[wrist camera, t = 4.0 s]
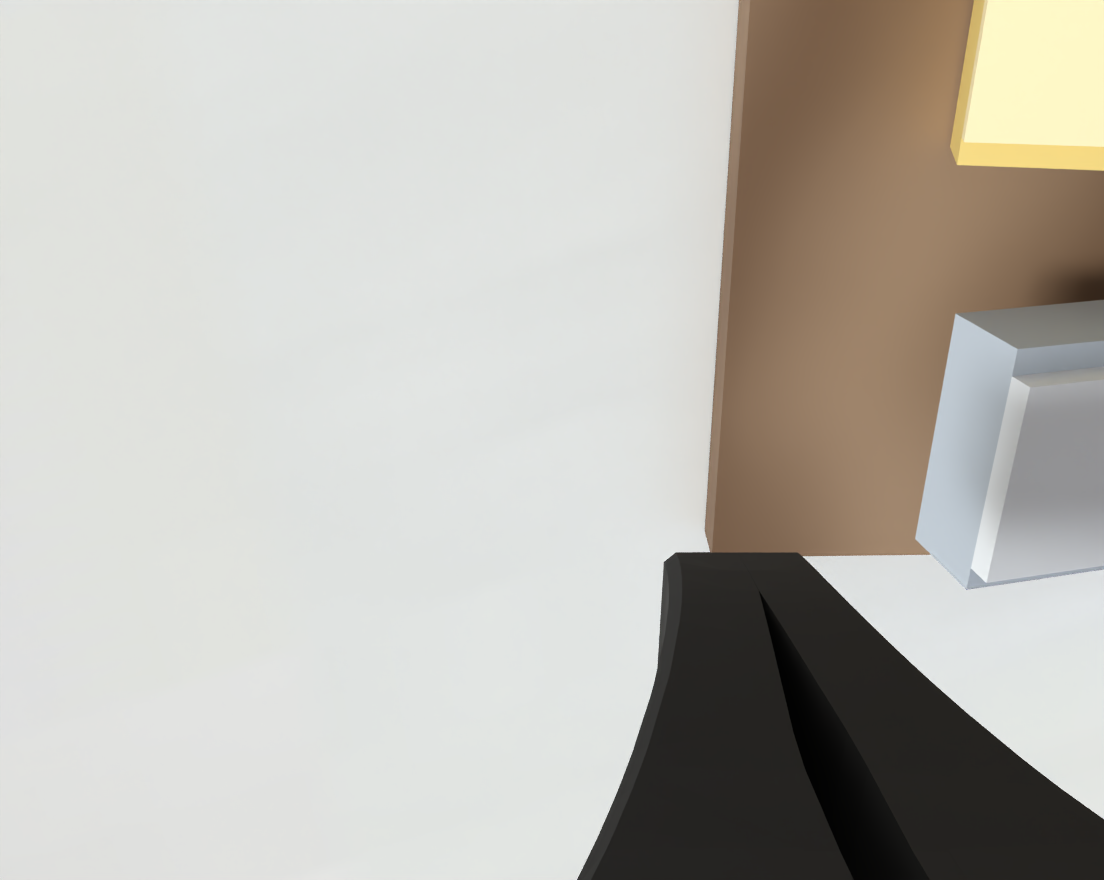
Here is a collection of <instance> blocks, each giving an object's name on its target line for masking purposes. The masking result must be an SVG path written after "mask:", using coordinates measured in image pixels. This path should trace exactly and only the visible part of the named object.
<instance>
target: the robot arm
mask: <svg viewBox="0 0 1104 880" xmlns="http://www.w3.org/2000/svg"><path fill="white" fill-rule="evenodd" d="M577 880H1104V819H1102V818H1101V817H1100V816H1098V815H1097V814H1095V813H1094V812H1093V811H1091V810H1090V809H1089V808H1087V807H1086V806H1084V805H1083V804H1082V803H1080V802H1079V801H1077V800H1076V799H1075V798H1073V797H1072V796H1070V795H1069V794H1068V793H1066V792H1065V791H1063V790H1062V789H1061V788H1059V787H1058V786H1057V785H1055V784H1054V783H1053V782H1051V781H1050V780H1049V779H1048V778H1046V777H1045V776H1044V775H1042V774H1041V773H1040V772H1038V771H1037V770H1036V769H1035V768H1033V767H1032V766H1031V765H1029V764H1028V763H1027V762H1026V761H1024V760H1023V759H1022V758H1021V757H1019V756H1018V755H1017V754H1016V753H1014V752H1013V751H1012V750H1011V749H1010V748H1008V747H1007V746H1006V745H1005V744H1004V743H1002V742H1001V741H1000V740H999V739H998V738H996V737H995V736H994V735H993V734H991V733H990V732H989V731H988V730H987V729H985V728H984V727H983V726H982V725H981V724H979V723H978V722H977V721H976V720H975V719H973V718H972V717H971V716H970V715H968V714H967V713H966V712H965V711H964V710H963V709H962V708H960V707H959V706H958V705H957V704H956V703H955V702H954V701H952V700H951V699H950V698H949V697H948V696H947V695H946V694H944V693H943V692H942V691H941V690H940V689H939V688H938V687H936V686H935V685H934V684H933V683H932V682H931V681H930V680H929V679H928V678H927V677H925V676H924V675H923V674H922V673H921V672H920V671H919V670H918V669H917V668H916V667H915V666H914V665H912V664H911V663H910V662H909V661H908V660H907V659H906V658H905V657H904V656H903V655H902V654H901V653H900V652H899V651H897V650H896V649H895V648H894V647H893V646H892V645H891V644H890V643H889V642H888V641H887V640H886V639H885V638H884V637H883V636H882V635H881V634H880V633H879V632H878V631H877V630H876V629H875V628H874V627H873V626H872V625H871V624H869V623H868V622H867V621H866V620H865V619H864V618H863V617H862V616H861V615H860V614H859V613H858V612H857V611H856V610H855V609H854V608H853V607H852V606H851V605H850V604H849V603H848V602H847V601H846V600H845V599H844V598H843V597H842V596H841V595H840V594H839V593H838V592H837V591H836V590H835V589H834V588H833V587H832V586H831V585H830V584H829V583H828V582H827V581H826V580H825V579H824V578H823V577H822V576H821V574H820V573H819V572H818V571H817V570H816V569H815V568H814V567H813V566H812V565H811V564H810V563H809V562H807V561H806V560H805V559H804V558H803V557H802V556H801V555H800V554H799V553H798V552H692V553H675V554H674V555H672V556H671V557H670V558H669V559H667V560H666V561H665V562H664V570H663V587H662V603H661V620H660V636H659V653H658V669H657V673H656V678H655V682H654V686H653V690H652V693H651V697H650V700H649V703H648V706H647V709H646V712H645V715H644V718H643V722H642V725H641V728H640V731H639V734H638V737H637V740H636V743H635V746H634V750H633V752H632V755H631V758H630V761H629V763H628V766H627V769H626V771H625V774H624V776H623V779H622V782H621V784H620V787H619V789H618V792H617V794H616V796H615V799H614V801H613V804H612V806H611V808H610V811H609V813H608V815H607V817H606V820H605V822H604V824H603V827H602V829H601V831H600V834H599V836H598V838H597V840H596V842H595V844H594V846H593V848H592V850H591V852H590V855H589V857H588V859H587V861H586V863H585V865H584V867H583V869H582V871H581V873H580V875H579V877H578V879H577Z"/></svg>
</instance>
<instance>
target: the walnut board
mask: <svg viewBox="0 0 1104 880" xmlns="http://www.w3.org/2000/svg"><path fill="white" fill-rule="evenodd" d="M973 3H974V0H739V10H738V25H737V41H736V56H735V72H734V87H733V102H732V118H731V133H730V149H729V164H728V180H727V195H726V211H725V226H724V241H723V257H722V272H721V288H720V303H719V319H718V334H717V350H716V365H715V380H714V396H713V411H712V427H711V442H710V458H709V473H708V489H707V504H706V519H705V533H706V537H707V541H708V545H709V549H710V552H798V553H799V554H800V555H801V556H853V555H931V554H930V553H929V552H928V551H927V550H926V549H925V548H924V547H923V546H922V545H921V544H920V543H919V542H918V541H917V540H916V539H915V536H916V531H917V525H918V520H919V514H920V509H921V503H922V497H923V492H924V486H925V481H926V475H927V470H928V464H929V458H930V453H931V447H932V442H933V436H934V431H935V425H936V420H937V414H938V408H939V403H940V397H941V392H942V386H943V381H944V375H945V369H946V364H947V358H948V353H949V347H950V342H951V336H952V331H953V325H954V319H955V314H956V313H967V312H977V311H988V310H999V309H1010V308H1021V307H1031V306H1042V305H1053V304H1064V303H1075V302H1085V301H1096V300H1104V171H1101V170H1075V169H1049V168H1023V167H996V166H970V165H957V164H956V161H955V158H954V156H953V153H952V151H951V148H950V144H951V138H952V132H953V126H954V119H955V113H956V107H957V101H958V95H959V89H960V83H961V77H962V71H963V65H964V58H965V52H966V46H967V40H968V34H969V28H970V22H971V16H972V10H973Z"/></svg>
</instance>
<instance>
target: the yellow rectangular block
mask: <svg viewBox="0 0 1104 880" xmlns="http://www.w3.org/2000/svg"><path fill="white" fill-rule="evenodd" d="M950 148H951V151H952V153H953V156H954V158H955V161H956V164H957V165H970V166H996V167H1023V168H1049V169H1075V170H1101V171H1104V0H974V3H973V10H972V16H971V22H970V28H969V34H968V40H967V46H966V52H965V58H964V65H963V71H962V77H961V83H960V89H959V95H958V101H957V107H956V113H955V119H954V126H953V132H952V138H951V144H950Z"/></svg>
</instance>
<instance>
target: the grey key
mask: <svg viewBox="0 0 1104 880" xmlns="http://www.w3.org/2000/svg"><path fill="white" fill-rule="evenodd" d="M915 539H916V540H917V541H918V542H919V543H920V544H921V545H922V546H923V547H924V548H925V549H926V550H927V551H928V552H929V553H930V554H931V555H932V556H933V557H934V558H935V559H936V560H937V561H938V562H939V563H940V564H941V565H942V566H943V567H944V568H945V569H946V570H947V571H948V572H949V573H950V574H951V575H952V576H953V577H954V578H955V579H956V580H957V581H958V582H959V583H960V584H961V585H962V586H963V587H964V588H965V589H966V590H968V589H974V588H981V587H988V586H995V585H1001V584H1008V583H1015V582H1022V581H1028V580H1035V579H1042V578H1049V577H1055V576H1062V575H1069V574H1076V573H1082V572H1089V571H1096V570H1103V569H1104V300H1096V301H1085V302H1075V303H1064V304H1053V305H1042V306H1031V307H1021V308H1010V309H999V310H988V311H977V312H967V313H956V314H955V319H954V325H953V331H952V336H951V342H950V347H949V353H948V358H947V364H946V369H945V375H944V381H943V386H942V392H941V397H940V403H939V408H938V414H937V420H936V425H935V431H934V436H933V442H932V447H931V453H930V458H929V464H928V470H927V475H926V481H925V486H924V492H923V497H922V503H921V509H920V514H919V520H918V525H917V531H916V536H915Z"/></svg>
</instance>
